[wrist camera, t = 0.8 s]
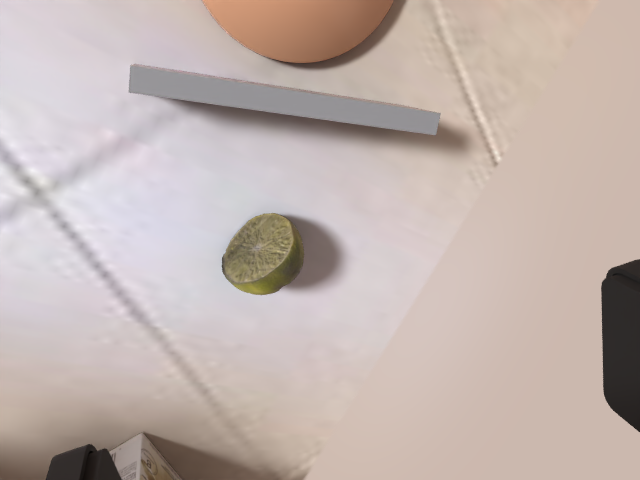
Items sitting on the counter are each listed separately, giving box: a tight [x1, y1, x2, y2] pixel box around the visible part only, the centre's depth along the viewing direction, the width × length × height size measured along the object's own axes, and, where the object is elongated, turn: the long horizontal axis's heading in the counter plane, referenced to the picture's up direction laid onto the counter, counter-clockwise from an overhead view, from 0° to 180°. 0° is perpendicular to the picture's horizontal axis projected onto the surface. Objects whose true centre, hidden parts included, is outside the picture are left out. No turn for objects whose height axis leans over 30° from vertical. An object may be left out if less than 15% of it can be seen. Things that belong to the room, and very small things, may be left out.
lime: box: [222, 213, 304, 295], centre depth 33 cm, size 4×5×5 cm
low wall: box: [129, 64, 441, 135], centre depth 30 cm, size 1×16×5 cm, turn 81°
